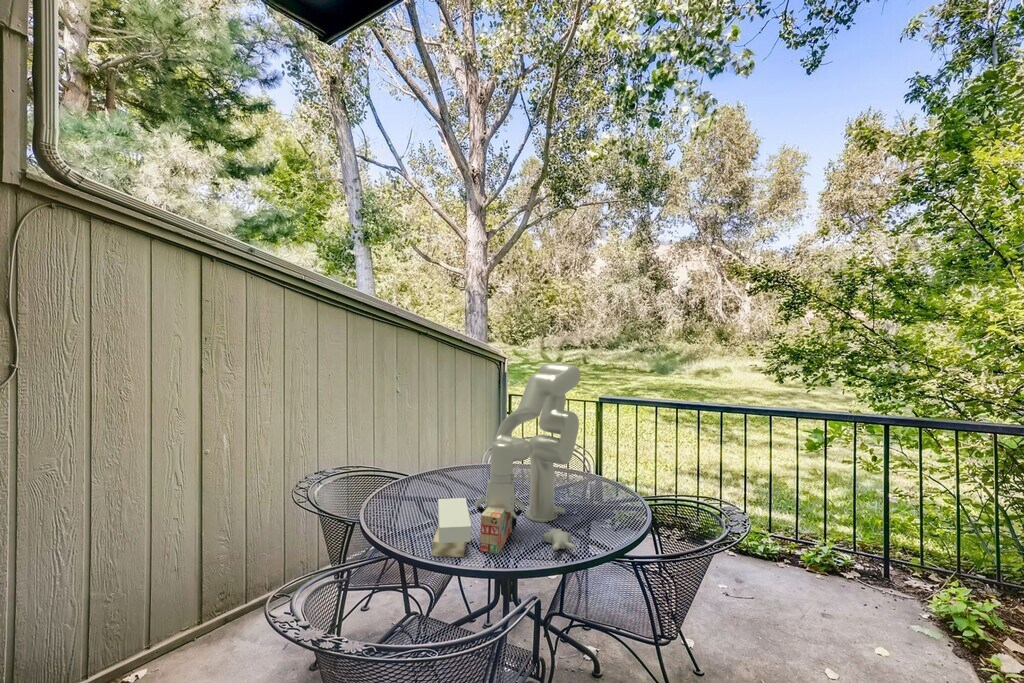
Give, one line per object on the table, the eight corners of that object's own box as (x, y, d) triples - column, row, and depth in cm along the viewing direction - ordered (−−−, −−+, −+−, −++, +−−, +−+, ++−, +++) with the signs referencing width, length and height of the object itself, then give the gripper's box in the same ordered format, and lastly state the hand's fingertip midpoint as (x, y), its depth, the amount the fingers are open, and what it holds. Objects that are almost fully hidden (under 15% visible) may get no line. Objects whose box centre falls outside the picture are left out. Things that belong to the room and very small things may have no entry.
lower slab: (469, 525, 166) (470, 512, 166) (463, 558, 142) (464, 543, 142) (442, 524, 166) (443, 511, 166) (431, 557, 142) (432, 542, 142)
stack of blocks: (498, 524, 167) (499, 491, 166) (514, 527, 165) (515, 494, 165) (479, 551, 146) (480, 514, 146) (498, 554, 144) (499, 517, 144)
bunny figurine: (566, 524, 159) (579, 539, 144) (566, 539, 159) (579, 556, 144) (540, 525, 158) (550, 540, 143) (540, 540, 157) (550, 557, 143)
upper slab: (465, 511, 167) (465, 497, 166) (470, 541, 143) (471, 526, 143) (437, 512, 165) (438, 498, 165) (439, 543, 141) (439, 527, 141)
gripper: (526, 476, 157) (524, 524, 157) (478, 472, 159) (476, 520, 159) (525, 483, 150) (523, 534, 150) (474, 479, 151) (472, 530, 151)
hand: (499, 527), depth 154 cm, fingers open, 9 cm apart
